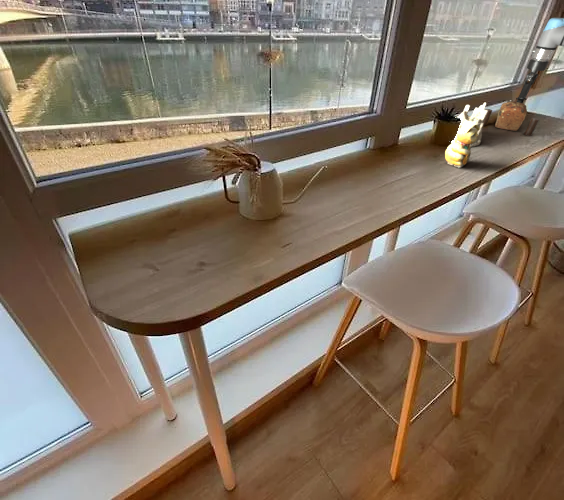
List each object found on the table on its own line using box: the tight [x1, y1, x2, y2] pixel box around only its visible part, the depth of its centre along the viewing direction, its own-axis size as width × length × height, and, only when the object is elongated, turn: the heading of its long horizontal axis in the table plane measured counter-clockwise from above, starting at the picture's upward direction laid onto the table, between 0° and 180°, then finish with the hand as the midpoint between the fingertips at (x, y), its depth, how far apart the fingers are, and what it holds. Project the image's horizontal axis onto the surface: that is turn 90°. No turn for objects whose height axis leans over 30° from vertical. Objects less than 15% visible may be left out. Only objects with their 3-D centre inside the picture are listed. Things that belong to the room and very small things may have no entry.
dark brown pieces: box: [483, 108, 540, 137], centre depth 148 cm, size 22×3×7 cm, turn 51°
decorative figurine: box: [444, 121, 480, 169], centre depth 113 cm, size 10×8×15 cm
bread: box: [494, 100, 528, 132], centre depth 154 cm, size 19×11×10 cm, turn 149°
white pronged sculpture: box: [450, 102, 488, 148], centre depth 134 cm, size 16×16×15 cm
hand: (514, 113), depth 162 cm, fingers closed
